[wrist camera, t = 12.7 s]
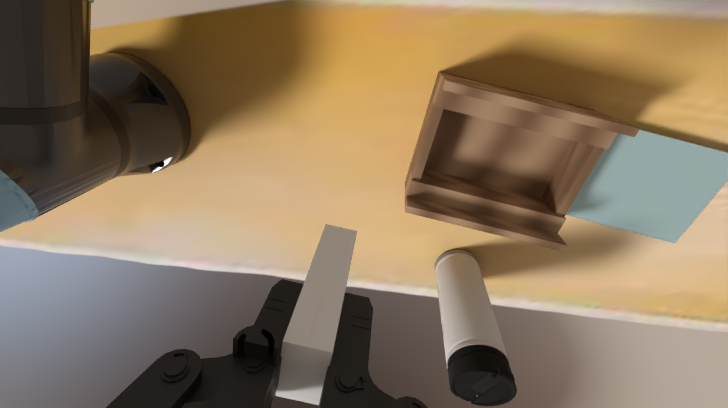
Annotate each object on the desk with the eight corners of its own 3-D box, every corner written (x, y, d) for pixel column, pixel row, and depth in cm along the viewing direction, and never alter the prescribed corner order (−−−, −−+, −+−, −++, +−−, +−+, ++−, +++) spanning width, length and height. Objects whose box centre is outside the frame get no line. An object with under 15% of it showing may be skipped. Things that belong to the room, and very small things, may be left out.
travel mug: (488, 259, 48) (536, 390, 30) (460, 288, 51) (489, 423, 33) (452, 239, 47) (480, 362, 29) (426, 270, 50) (437, 398, 32)
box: (405, 181, 44) (404, 211, 36) (438, 71, 37) (446, 81, 30) (536, 214, 44) (563, 251, 36) (592, 109, 37) (640, 128, 30)
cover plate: (540, 202, 44) (550, 215, 40) (588, 115, 38) (604, 122, 35) (664, 234, 44) (683, 250, 40) (730, 152, 38) (759, 162, 35)
